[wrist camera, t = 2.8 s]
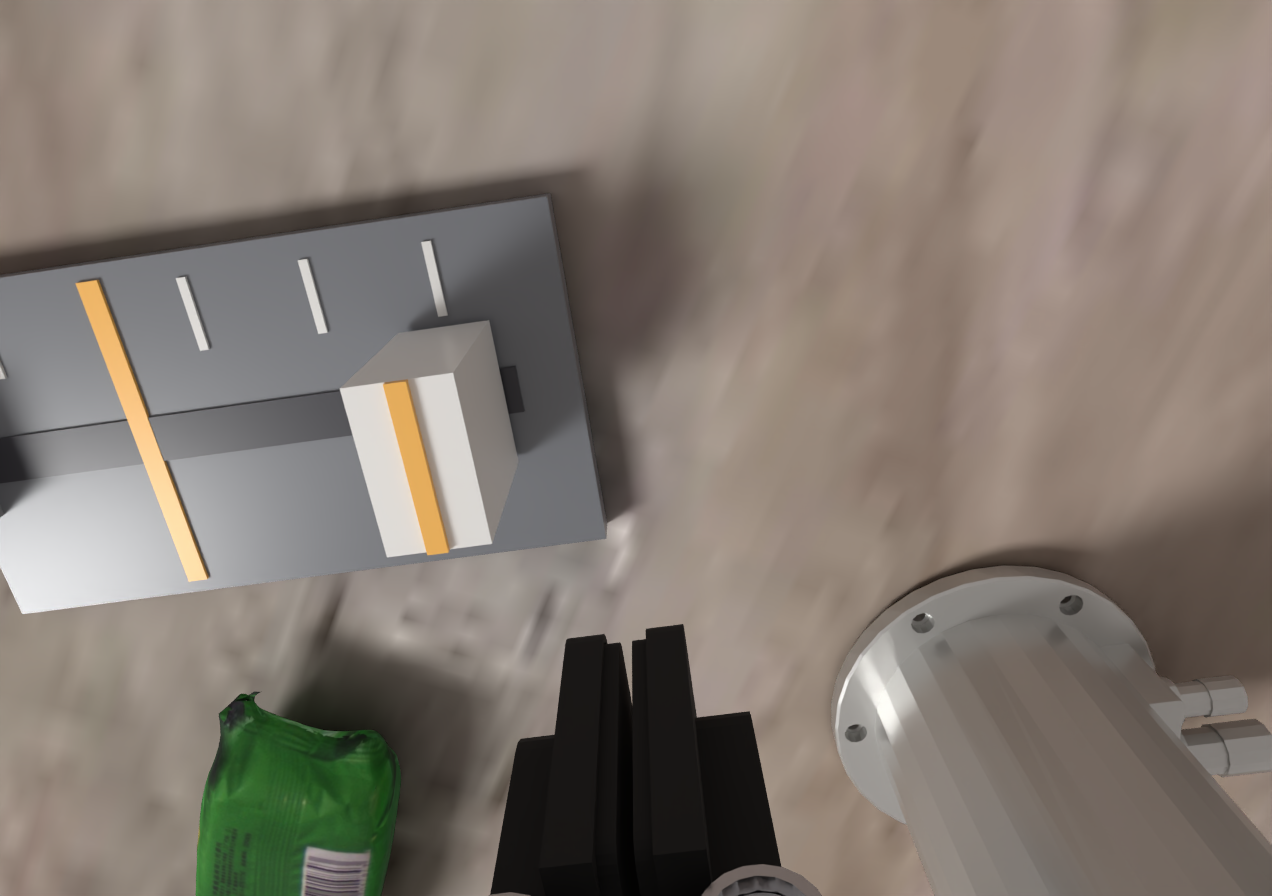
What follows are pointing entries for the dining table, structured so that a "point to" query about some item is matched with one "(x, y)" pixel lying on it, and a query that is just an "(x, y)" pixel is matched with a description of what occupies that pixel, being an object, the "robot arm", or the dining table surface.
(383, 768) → the snack package
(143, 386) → the console
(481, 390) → the fader tab
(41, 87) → the dining table surface
